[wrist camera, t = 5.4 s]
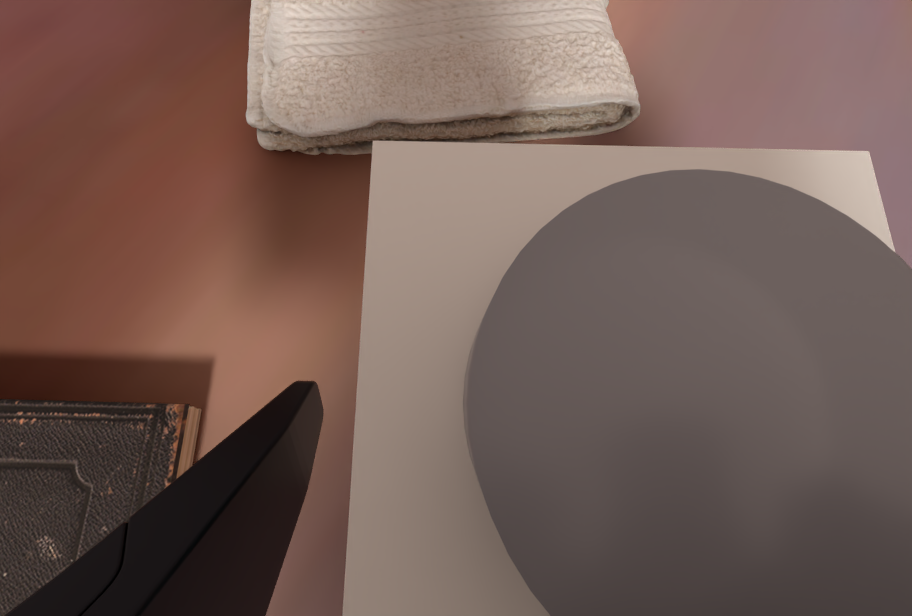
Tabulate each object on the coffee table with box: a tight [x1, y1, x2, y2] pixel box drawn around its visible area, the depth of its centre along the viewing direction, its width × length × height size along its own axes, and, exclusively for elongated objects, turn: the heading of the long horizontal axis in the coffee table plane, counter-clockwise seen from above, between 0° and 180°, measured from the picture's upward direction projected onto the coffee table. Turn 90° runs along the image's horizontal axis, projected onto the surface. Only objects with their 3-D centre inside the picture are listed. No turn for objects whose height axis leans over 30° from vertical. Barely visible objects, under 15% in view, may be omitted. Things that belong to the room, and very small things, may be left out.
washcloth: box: [246, 0, 640, 155], centre depth 19 cm, size 12×18×3 cm, turn 97°
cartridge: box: [342, 141, 912, 616], centre depth 9 cm, size 5×5×14 cm
